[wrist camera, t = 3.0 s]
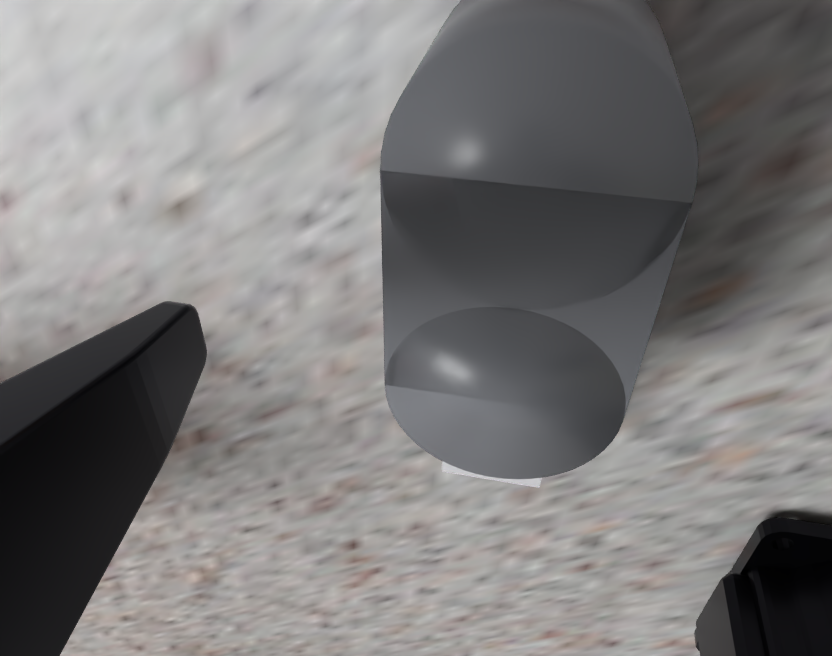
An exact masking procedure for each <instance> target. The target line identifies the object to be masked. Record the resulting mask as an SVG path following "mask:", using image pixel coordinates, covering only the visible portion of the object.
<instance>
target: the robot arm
mask: <svg viewBox="0 0 832 656" xmlns="http://www.w3.org/2000/svg"><path fill="white" fill-rule="evenodd" d="M206 357H207V349H206V344H205V340H204V336H203V332H202V328H201V324H200V320H199V316H198V312H197V310H196V309H195V307H194V306H192V305H190V304H185V303H178V302H171V301H166V302H162V303H160V304H158V305H156V306H154V307H152V308H150V309H148V310H146V311H144V312H142V313H140V314H138V315H136V316H134V317H132V318H130V319H128V320H126V321H124V322H122V323H120V324H118V325H116V326H114V327H112V328H110V329H108V330H106V331H104V332H102V333H100V334H98V335H96V336H94V337H92V338H90V339H88V340H86V341H84V342H82V343H80V344H78V345H76V346H74V347H72V348H70V349H68V350H66V351H64V352H62V353H60V354H58V355H56V356H54V357H52V358H50V359H48V360H46V361H44V362H42V363H40V364H38V365H36V366H34V367H32V368H30V369H28V370H26V371H24V372H22V373H20V374H18V375H16V376H14V377H12V378H10V379H8V380H6V381H4V382H2V383H0V656H60V654H61V652H62V650H63V648H64V647H65V645H66V643H67V641H68V639H69V637H70V635H71V634H72V632H73V630H74V628H75V626H76V624H77V623H78V621H79V619H80V617H81V615H82V613H83V611H84V610H85V608H86V606H87V604H88V602H89V600H90V599H91V597H92V595H93V593H94V591H95V589H96V587H97V586H98V584H99V582H100V580H101V578H102V576H103V575H104V573H105V571H106V569H107V567H108V565H109V563H110V562H111V560H112V558H113V556H114V554H115V552H116V551H117V549H118V547H119V545H120V543H121V541H122V539H123V538H124V536H125V534H126V532H127V530H128V528H129V526H130V525H131V523H132V521H133V519H134V517H135V515H136V514H137V512H138V510H139V508H140V506H141V504H142V502H143V501H144V499H145V497H146V495H147V493H148V491H149V490H150V488H151V486H152V484H153V482H154V480H155V478H156V477H157V475H158V473H159V471H160V469H161V467H162V465H163V463H164V461H165V459H166V458H167V456H168V454H169V451H170V449H171V447H172V445H173V442H174V440H175V438H176V435H177V433H178V430H179V428H180V425H181V423H182V420H183V418H184V415H185V413H186V410H187V408H188V405H189V403H190V400H191V398H192V395H193V393H194V390H195V388H196V385H197V383H198V380H199V378H200V376H201V373H202V371H203V368H204V365H205V362H206ZM696 627H697V628H696V630H695V633H694V635H695V643H696V648H697V649H698V650H699V651H700V656H832V526H829V525H823V524H818V523H812V522H806V521H800V520H794V519H788V518H773V519H768V520H766V521H763V522H761V523H760V524H759V525H758V526H757V528H756V530H755V531H754V533H753V535H752V536H751V538H750V540H749V541H748V543H747V545H746V546H745V548H744V550H743V551H742V553H741V555H740V556H739V558H738V560H737V561H736V563H735V565H734V566H733V568H732V570H731V571H730V572H729V573H728V574H727V575H726V576H724V577H723V578H722V579H721V580H720V582H719V584H718V585H717V587H716V589H715V590H714V592H713V594H712V595H711V597H710V599H709V600H708V602H707V604H706V606H705V607H704V609H703V611H702V612H701V614H700V616H699V617H698V619H697V621H696Z"/></svg>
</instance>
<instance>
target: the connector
mask: <svg viewBox="0 0 832 656" xmlns="http://www.w3.org/2000/svg"><path fill="white" fill-rule="evenodd" d="M697 175H698V148H697V140H696V136H695V132H694V127H693V123H692V120H691V117H690V114H689V110H688V107H687V104H686V101H685V98H684V95H683V92H682V89H681V86H680V82H679V79H678V76H677V73H676V70H675V67H674V64H673V61H672V58H671V54H670V51H669V48H668V45H667V42H666V39H665V36H664V34H663V31H662V28H661V26H660V23H659V21H658V19H657V18H656V16H655V14H654V12H653V11H652V9H651V7H650V6H649V5H648V4H647V2H646V1H645V0H461V1H460V3H459V4H458V5H457V6H456V7H455V8H454V10H453V11H452V13H451V14H450V15H449V17H448V18H447V20H446V21H445V23H444V25H443V26H442V28H441V30H440V31H439V33H438V35H437V36H436V38H435V40H434V41H433V43H432V45H431V46H430V48H429V50H428V51H427V53H426V55H425V56H424V58H423V60H422V61H421V63H420V65H419V66H418V68H417V70H416V71H415V73H414V75H413V76H412V78H411V80H410V81H409V83H408V85H407V86H406V88H405V90H404V91H403V93H402V95H401V96H400V98H399V100H398V102H397V104H396V106H395V108H394V110H393V112H392V114H391V116H390V119H389V122H388V125H387V128H386V131H385V134H384V140H383V145H382V150H381V166H380V180H381V227H382V274H383V321H384V368H385V391H386V397H387V401H388V404H389V407H390V409H391V412H392V414H393V416H394V418H395V419H396V421H397V422H398V424H399V425H400V427H401V428H402V429H403V430H404V432H405V433H406V434H407V435H408V436H409V437H410V438H411V439H412V440H413V441H414V442H415V443H416V444H417V445H419V446H420V447H421V448H423V449H424V450H425V451H426V452H428V453H430V454H431V455H433V456H434V457H436V458H438V459H439V460H441V461H442V472H448V473H454V474H460V475H466V476H472V477H478V478H483V479H489V480H495V481H501V482H507V483H513V484H519V485H525V486H531V487H537V488H540V483H541V478H542V477H548V476H553V475H557V474H561V473H564V472H567V471H570V470H573V469H575V468H577V467H579V466H581V465H583V464H585V463H587V462H588V461H590V460H592V459H593V458H595V457H596V456H597V455H599V454H600V453H601V452H602V451H603V450H605V448H606V447H607V446H608V445H609V444H610V443H611V442H612V441H613V439H614V438H615V436H616V435H617V433H618V431H619V429H620V427H621V424H622V422H623V419H624V416H625V413H626V410H627V407H628V403H629V400H630V397H631V394H632V391H633V388H634V385H635V381H636V378H637V375H638V372H639V369H640V366H641V362H642V359H643V356H644V353H645V350H646V347H647V344H648V340H649V337H650V334H651V331H652V328H653V325H654V322H655V318H656V315H657V312H658V309H659V306H660V303H661V299H662V296H663V293H664V290H665V287H666V284H667V281H668V277H669V274H670V271H671V268H672V265H673V262H674V259H675V255H676V252H677V249H678V246H679V243H680V240H681V236H682V233H683V230H684V227H685V224H686V221H687V218H688V214H689V211H690V208H691V205H692V202H693V197H694V193H695V189H696V185H697Z"/></svg>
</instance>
